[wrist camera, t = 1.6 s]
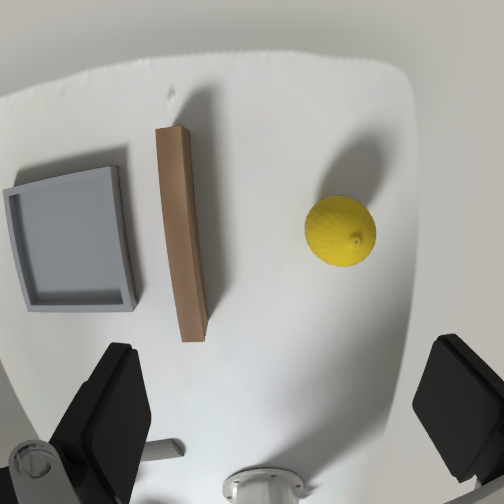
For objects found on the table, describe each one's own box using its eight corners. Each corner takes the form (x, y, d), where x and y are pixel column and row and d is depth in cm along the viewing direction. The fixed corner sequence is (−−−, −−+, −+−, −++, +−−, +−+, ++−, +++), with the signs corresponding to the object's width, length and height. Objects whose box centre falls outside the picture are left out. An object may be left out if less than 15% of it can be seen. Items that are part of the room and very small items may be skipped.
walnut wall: (189, 131, 26) (180, 125, 22) (208, 320, 31) (204, 341, 27) (166, 133, 26) (155, 129, 22) (188, 321, 31) (182, 342, 27)
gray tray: (117, 165, 26) (110, 166, 25) (138, 304, 30) (132, 311, 28) (12, 188, 26) (2, 190, 24) (36, 305, 30) (28, 311, 28)
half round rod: (73, 445, 37) (69, 453, 36) (172, 434, 36) (170, 443, 34) (88, 461, 38) (85, 469, 37) (187, 452, 37) (185, 461, 35)
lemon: (333, 179, 28) (366, 185, 20) (364, 227, 29) (403, 249, 21) (284, 216, 28) (301, 235, 21) (319, 262, 30) (344, 295, 22)
